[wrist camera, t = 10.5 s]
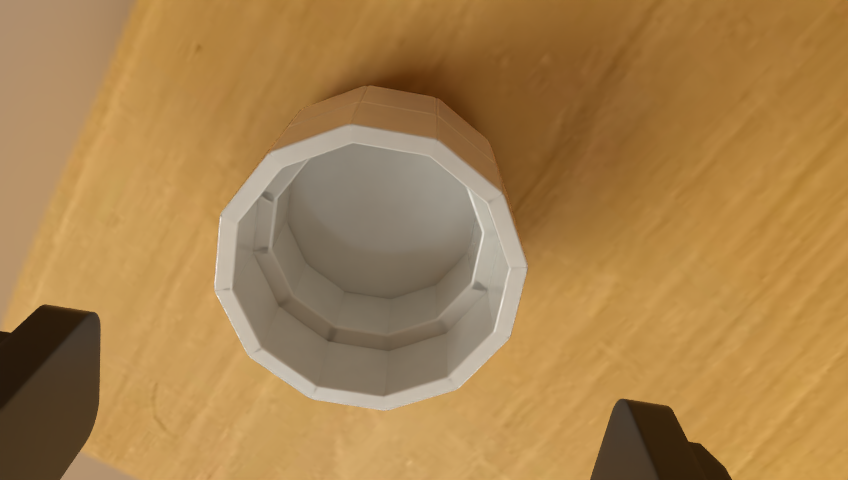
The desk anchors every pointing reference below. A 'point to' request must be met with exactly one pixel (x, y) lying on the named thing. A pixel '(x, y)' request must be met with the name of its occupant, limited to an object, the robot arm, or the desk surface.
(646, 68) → the desk surface
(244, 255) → the bowl
